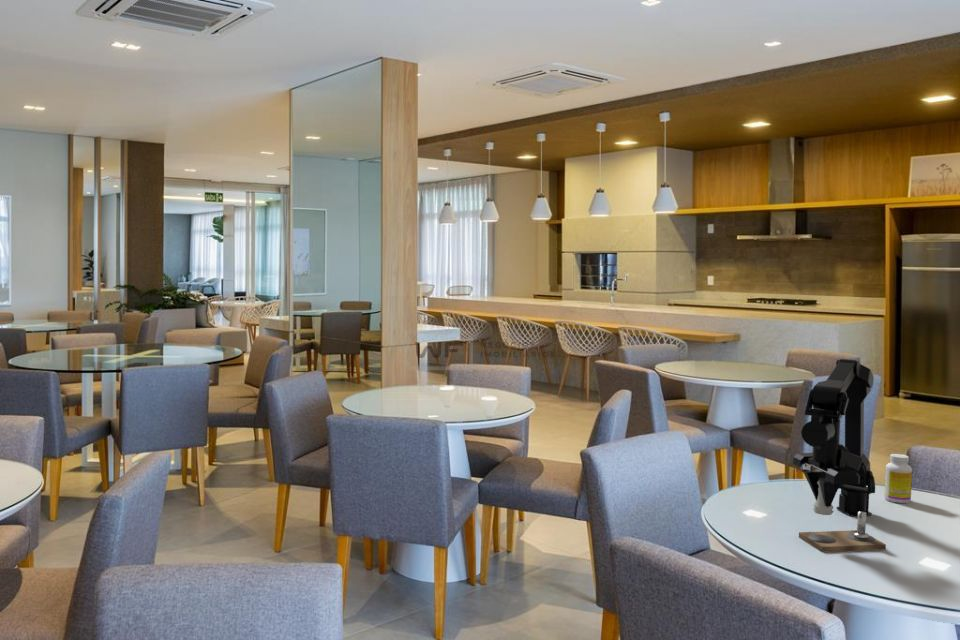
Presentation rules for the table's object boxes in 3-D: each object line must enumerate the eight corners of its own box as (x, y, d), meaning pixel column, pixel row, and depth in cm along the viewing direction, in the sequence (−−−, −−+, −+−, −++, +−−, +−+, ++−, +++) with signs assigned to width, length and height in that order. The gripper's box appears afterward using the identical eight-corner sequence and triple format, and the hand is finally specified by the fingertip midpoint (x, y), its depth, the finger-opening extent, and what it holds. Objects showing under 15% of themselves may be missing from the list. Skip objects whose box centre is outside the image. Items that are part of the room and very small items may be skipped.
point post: (863, 534, 193) (864, 510, 192) (871, 539, 189) (872, 514, 189) (850, 535, 192) (851, 510, 192) (858, 539, 189) (859, 514, 189)
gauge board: (859, 534, 196) (859, 529, 196) (885, 549, 186) (885, 544, 186) (798, 537, 194) (798, 531, 194) (821, 552, 184) (821, 546, 184)
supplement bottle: (915, 504, 222) (917, 458, 222) (891, 503, 223) (893, 458, 222) (903, 497, 229) (905, 453, 228) (879, 496, 229) (881, 452, 228)
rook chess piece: (818, 515, 187) (820, 482, 186) (809, 509, 191) (810, 476, 191) (837, 515, 187) (838, 481, 186) (827, 509, 192) (828, 476, 191)
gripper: (883, 447, 180) (879, 515, 181) (835, 429, 198) (832, 491, 199) (836, 448, 178) (833, 517, 179) (793, 430, 197) (790, 492, 198)
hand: (823, 503), depth 189 cm, fingers closed on rook chess piece, 3 cm apart
